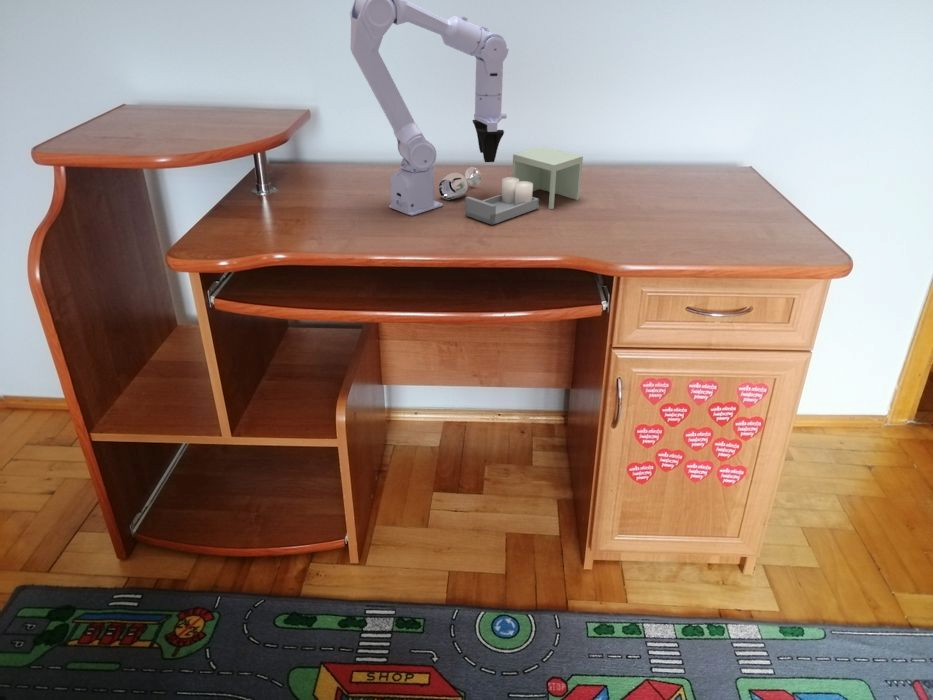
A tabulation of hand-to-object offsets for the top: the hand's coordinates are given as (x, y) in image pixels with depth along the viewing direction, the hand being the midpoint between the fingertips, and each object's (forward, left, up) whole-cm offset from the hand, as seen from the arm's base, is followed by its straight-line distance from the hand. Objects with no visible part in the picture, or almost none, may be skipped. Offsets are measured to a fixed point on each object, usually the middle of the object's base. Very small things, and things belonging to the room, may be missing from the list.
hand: (487, 157), depth 157 cm
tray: (-4, -9, -10) cm, 14 cm away
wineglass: (+4, +8, -7) cm, 12 cm away
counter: (+10, -9, -10) cm, 17 cm away
